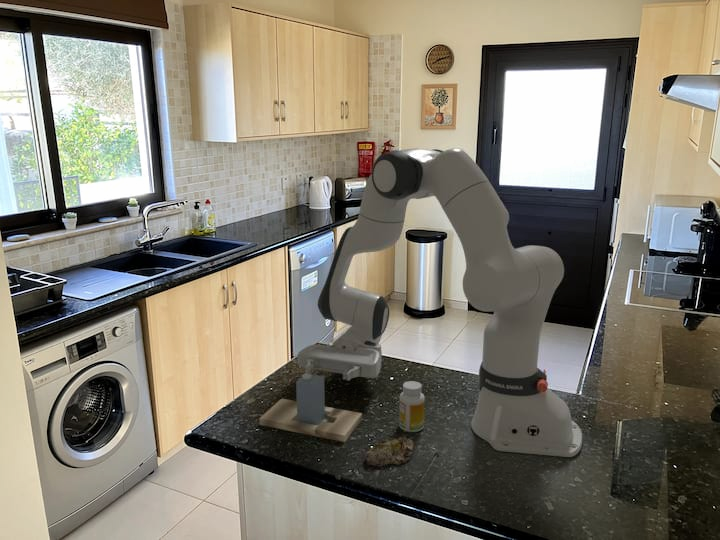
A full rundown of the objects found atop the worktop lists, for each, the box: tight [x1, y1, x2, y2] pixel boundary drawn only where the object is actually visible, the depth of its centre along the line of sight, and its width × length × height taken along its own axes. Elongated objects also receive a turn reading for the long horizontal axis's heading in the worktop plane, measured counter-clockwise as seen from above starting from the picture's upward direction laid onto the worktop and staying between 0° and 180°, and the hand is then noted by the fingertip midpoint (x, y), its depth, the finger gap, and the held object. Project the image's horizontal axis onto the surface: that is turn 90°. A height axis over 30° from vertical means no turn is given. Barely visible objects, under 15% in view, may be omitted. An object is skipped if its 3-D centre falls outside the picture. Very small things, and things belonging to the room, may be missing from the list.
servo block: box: [295, 372, 326, 426], centre depth 126 cm, size 4×4×11 cm
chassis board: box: [258, 398, 363, 443], centre depth 127 cm, size 20×10×2 cm, turn 69°
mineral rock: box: [364, 436, 415, 467], centre depth 114 cm, size 11×4×8 cm
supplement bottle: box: [398, 380, 426, 433], centre depth 124 cm, size 5×5×10 cm
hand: (326, 374), depth 133 cm, fingers open, 8 cm apart
